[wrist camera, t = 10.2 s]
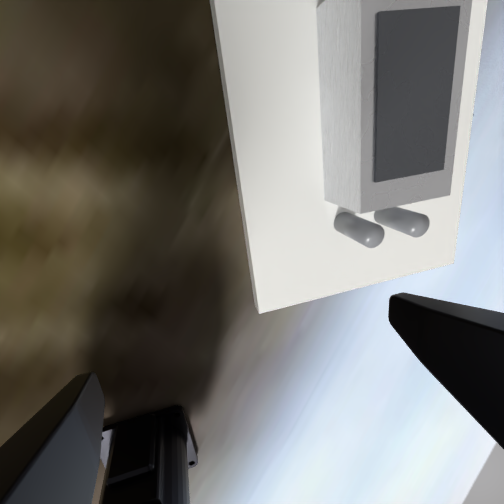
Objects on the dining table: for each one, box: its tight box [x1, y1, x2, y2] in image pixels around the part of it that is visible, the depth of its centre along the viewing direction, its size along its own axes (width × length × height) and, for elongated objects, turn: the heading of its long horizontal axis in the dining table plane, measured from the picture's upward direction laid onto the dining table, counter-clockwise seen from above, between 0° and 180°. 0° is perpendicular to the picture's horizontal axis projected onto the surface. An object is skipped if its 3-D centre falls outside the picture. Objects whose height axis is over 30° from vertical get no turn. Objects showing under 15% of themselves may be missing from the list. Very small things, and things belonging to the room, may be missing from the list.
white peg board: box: [210, 0, 488, 314], centre depth 17 cm, size 24×16×4 cm, turn 8°
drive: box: [316, 0, 472, 214], centre depth 16 cm, size 10×6×4 cm, turn 8°
